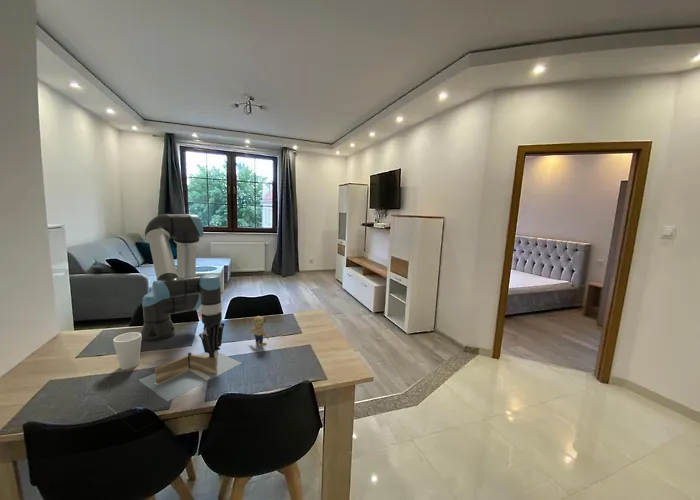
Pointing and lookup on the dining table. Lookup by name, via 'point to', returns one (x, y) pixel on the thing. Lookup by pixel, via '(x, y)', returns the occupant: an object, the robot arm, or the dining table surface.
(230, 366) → the card
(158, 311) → the robot arm
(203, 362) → the hinged panel
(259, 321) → the toy
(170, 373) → the fixed panel
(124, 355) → the foam cup
